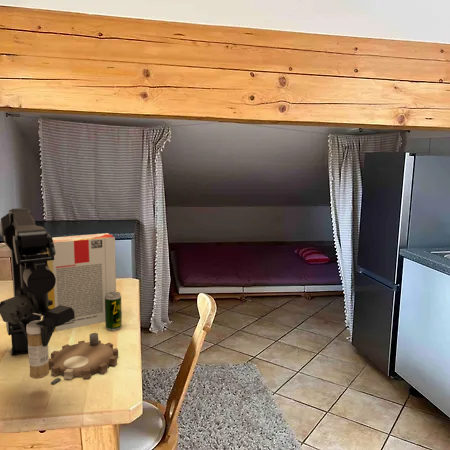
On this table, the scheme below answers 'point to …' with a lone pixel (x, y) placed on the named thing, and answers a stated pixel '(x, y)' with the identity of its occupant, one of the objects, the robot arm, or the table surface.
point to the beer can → (113, 311)
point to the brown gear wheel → (83, 358)
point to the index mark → (55, 381)
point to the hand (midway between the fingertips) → (37, 344)
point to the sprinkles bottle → (37, 352)
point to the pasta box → (83, 276)
